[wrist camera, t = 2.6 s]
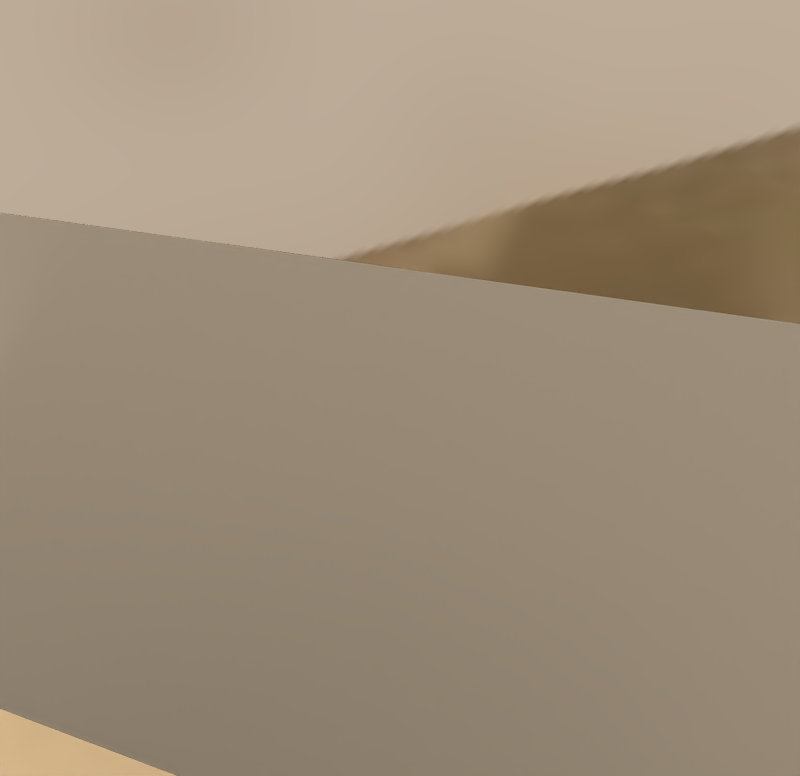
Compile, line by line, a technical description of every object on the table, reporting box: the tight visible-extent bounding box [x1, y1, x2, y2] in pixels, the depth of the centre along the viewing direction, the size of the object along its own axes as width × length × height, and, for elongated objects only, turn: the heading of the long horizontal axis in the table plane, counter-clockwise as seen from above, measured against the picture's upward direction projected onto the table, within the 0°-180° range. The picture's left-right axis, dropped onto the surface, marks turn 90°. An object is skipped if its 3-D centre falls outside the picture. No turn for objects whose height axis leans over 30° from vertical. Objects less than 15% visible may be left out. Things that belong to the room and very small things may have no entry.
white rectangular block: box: [0, 213, 800, 776], centre depth 9 cm, size 2×6×13 cm, turn 75°
